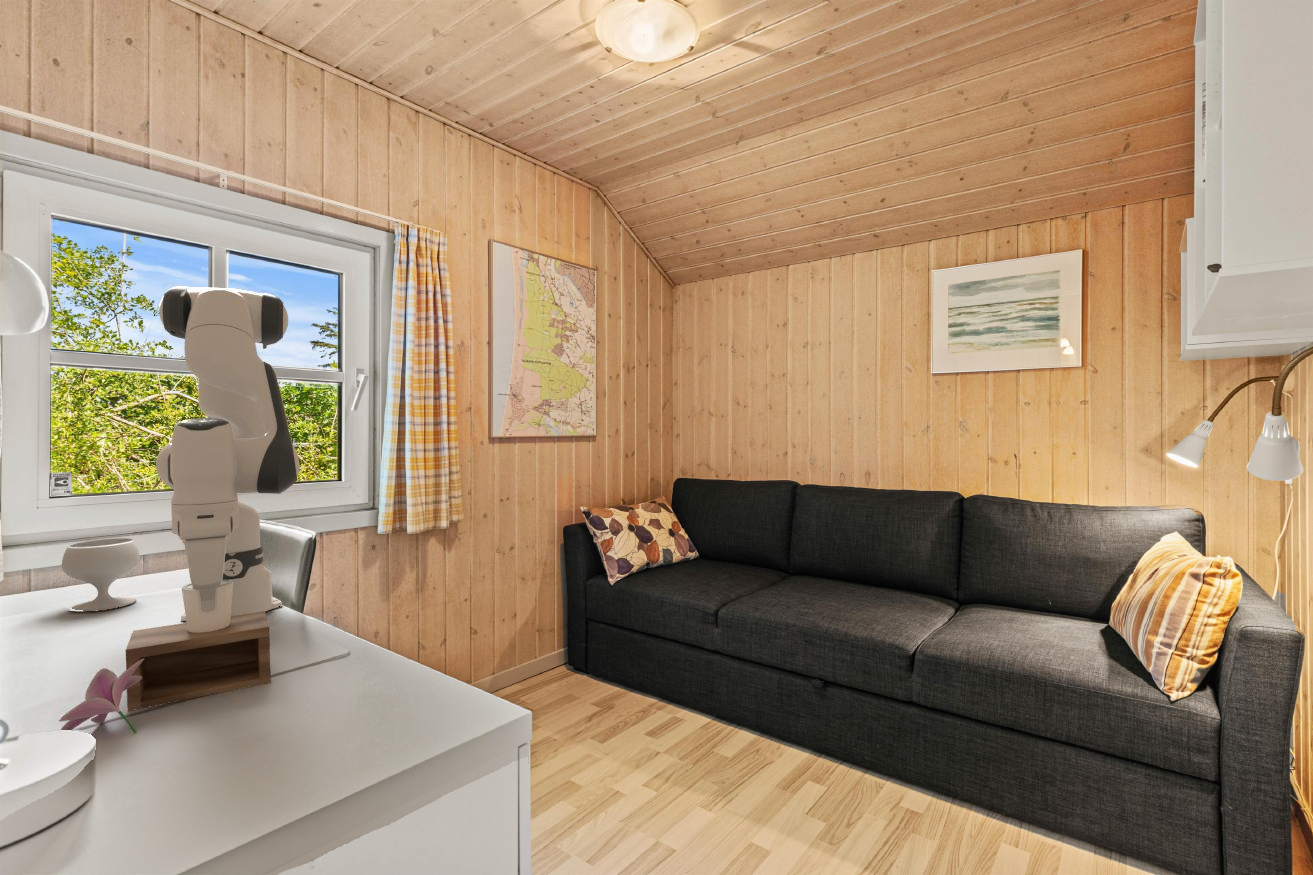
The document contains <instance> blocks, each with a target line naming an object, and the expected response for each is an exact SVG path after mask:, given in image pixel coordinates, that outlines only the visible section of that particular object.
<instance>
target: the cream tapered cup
mask: <svg viewBox="0 0 1313 875" xmlns="http://www.w3.org/2000/svg"><path fill="white" fill-rule="evenodd" d="M181 592H182V599H183V607H184V613H185V615H186V621H185V623H187V629H188V631H189V632H192V633H202V632H210V631H215V630H219V629H222V628H225V627H227V626H229V625H230V619H231V606H232V593H233V581H232V580H222V583H221V586H219V587H216V593H215V609H214V610H213V611H207V612H203V611H202V610H201V598H200V592H199V590H195V589H193V587H192V584H191V583H189V584H185V585H183V586H182V587H181Z"/></svg>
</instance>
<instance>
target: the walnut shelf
mask: <svg viewBox="0 0 1313 875" xmlns="http://www.w3.org/2000/svg"><path fill="white" fill-rule="evenodd" d="M268 621H269V620H268V617H267V614H266V612H265V611H263V612H257V613H250V614H243V615H236V616H231V619H230V625H229V626H227V627H225V628H222V629H219V630H215V631H210V632H202V633H192V632H189V631H188V629H187V622H183V623H177V624H176V623H175V624H170V625H163V626H157V627H156V626H155V627H151V628H149V627H148V628H143V629H136V630H135V629H134V630H133V631H132V633H131V636H130V638H129V641H128V643H127V646H126V649H125V667H126V668H125V671H126V670H127V669H128V668H130V667H131V666H132V665H134V664H135V663H137V662H138V661H140V660H141V659H144V660H143V661H142V662H141V664H140V665H139V666H138V668H137V669H136V670H135V671H134V673H133V674H132V676H135V675H137V676H142V679H141V680H140V681H138V682H137V683H135V684H134V685H132V686H131V687H129V688H128V689H127V690H126V701H127V704H126V705H127V712H130V710H132V711H135V710H134V709H137V710H139V709H140V708H142V709H146V708H145V707H147V708H150V707H149V706H152V707H156V706H155V705H157V706H161V705H160V704H162V705H166V704H165V703H167V704H170V703H169V702H172V703H175V702H174V701H177V702H180V700H182V701H185V700H191V699H195V698H201V697H206V696H210V695H217V694H221V693H226V692H230V691H235V690H240V689H241V690H242V689H245V688H251V687H256V686H260V685H265V684H271V683H272V679H271V678H272V677H271V675H272V674H271V673H272V672H271V671H272V670H271V643H270V641H271V639H270V638H271V637H270V635H271V634H270V625H269V624H270V623H269V622H268ZM140 710H141V709H140Z"/></svg>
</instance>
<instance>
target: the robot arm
mask: <svg viewBox="0 0 1313 875" xmlns="http://www.w3.org/2000/svg"><path fill="white" fill-rule="evenodd" d="M160 300H161V301H160V303H159V306H158V307H159V308H158V314H159V318H160V321H161V324H162V325H163V328H164V330H165V331H166V332H167V333H168V334H169V335H171V336H172V337H175V338H178V339H183V340H184V349H183V350H184V359H185V364H186V366H187V367H188V369H189V371H190V372H191V373H192V374H193V375H194V376H195V377H196V378H198V407H199V409H200V411H201V412H202V413H203V414H204V415H205V416H206V417H201V418H200V417H199V418H189V419H184V420H181V421H178V422H177V423H176V424H175V425H174V428H173V431H172V432H173V433H172V438H171V442H168V443H167V444H165V446H163V447H162V449H161V450H160V451H159V452H158V455H157V457H156V461H155V469H156V473H157V475H158V477H159V479H160V480H161V481H162V482H163V483H164V484H165V485H166V486H167V487H169V488H171V489H172V490H173V494H172V498H171V501H170V503H171V505H170V506H171V532H172V534H173V535H177V536H178V538H179V539H180V540H181V543H182V544H183V546H184V549H185V553H186V554H185V555H186V560H187V561H186V562H187V566H188V573H189V578H190V584H192V587H193V589H195V590H199V592H200V598H201V610H202V611H203V612H207V611H213V610H214V609H215V593H216V587H219V586H221V583H222V580H232V581H233V593H232V606H231V616H236V615H243V614H250V613H257V612H263V611H265V613H266V612H267V611H270V610H273V609H277V608H280V607H282V606H283V602H282V601H281V600H280V599H279V598H276V597H275V596H273V586H272V585H273V582H272V572H271V571H270V570H269V569H268V568H266V567H265V566H264V564H263V562H264V555H265V554H264V551H263V546H261V525H260V524H261V522H260V520H261V519H260V515H259V513H258V511H257V510H256V509H255V508H254V507H252V506H250V505H248V504H245V503H242V502H240V501H239V496H238V494H251V493H252V494H253V493H259V494H274V495H276V494H277V495H279V494H280V495H281V494H282V493H283V492H285V491H287V490H288V489H290V488H291V487H292V486H293V485H294V484H295V483H296V482H297V481H298V477H299V476H300V460H299V455H298V452H297V449H296V446H295V444H294V443H293V441H292V438H291V433H290V430H289V423H288V422H289V421H288V419H287V414H286V410H285V404H284V402H283V401H284V399H283V397H282V393H281V392H282V391H281V389H280V385H279V382H278V378H277V375H276V372H275V370H274V368H273V366H272V365H271V364H269V363H268V362H266V361H263V360H262V359H261V358H260V356H259V355H258V351H257V345H256V343H257V344H262V349H263V350H264V349H267V347H268V346H270V345H273V344H277V343H278V342H279V341H281V340H282V339H283V338H284V335H285V333H286V331H287V329H288V326H289V314H288V311H287V308H286V307H285V305H284V302H283V300H282V299H281V298H280V297H278V296H275V295H273V294H269V293H266V292H265V293H264V292H263V293H257V292H254V291H249V290H248V291H247V290H242V289H236V288H228V287H227V288H222V287H220V288H219V287H189V286H188V285H186V286H184V285H183V286H173V287H170V288H169V289H167V290H166V291H165V292H164V294H163V297H162V298H161V299H160ZM279 606H280V607H279ZM180 621H185V622H186V615H185V612H183V613H182V614H181V616H180Z"/></svg>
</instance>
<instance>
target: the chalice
mask: <svg viewBox="0 0 1313 875" xmlns="http://www.w3.org/2000/svg"><path fill="white" fill-rule="evenodd" d="M63 553H64V554H63V556H62V560H61V569H62V571H63V573H64V574H65V575H66V576H68V577H70V578H72V579H76V580H79V581H81V582H85V583H88V584H90V585H92V586H93V587H94V588H95V589H96V590H97V596H96V597H95V599H92V600H87V601H84V602H81V603H78V604H74V605H72V606H71V607H72V609H75V610H83V611H94V612H97V611H96V610H102V611H108V610H107V609H109V610H113V608H114V609H117V608H118V607H119V608H121V607H122V608H123V607H126V606H128V605H131V604H134V603H135V602H137V599H136V598H134V597H132V596H130V597H128V596H126V597H125V596H121V597H120V596H117V597H116V596H115V597H113V596H111V595H110V594H109V588H110V587H111V585H112V584H113V583H114V582H115V581H116V580H118V579H120V578H121V577H123V576H124V575H126V574H128V573H130V572H131V571H132V570H134V569H135V568H136V567H138V565H139V563H140V559H141V555H140V551H139V548H138V545H137V543H136V541H134V539H132V538H128V537H127V538H126V537H122V538H121V537H118V538H104V539H101V538H100V539H96V540H95V539H93V540H86V541H80V542H75V543H71V544H69V545H67V547H66V549H65V551H64V552H63Z"/></svg>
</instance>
